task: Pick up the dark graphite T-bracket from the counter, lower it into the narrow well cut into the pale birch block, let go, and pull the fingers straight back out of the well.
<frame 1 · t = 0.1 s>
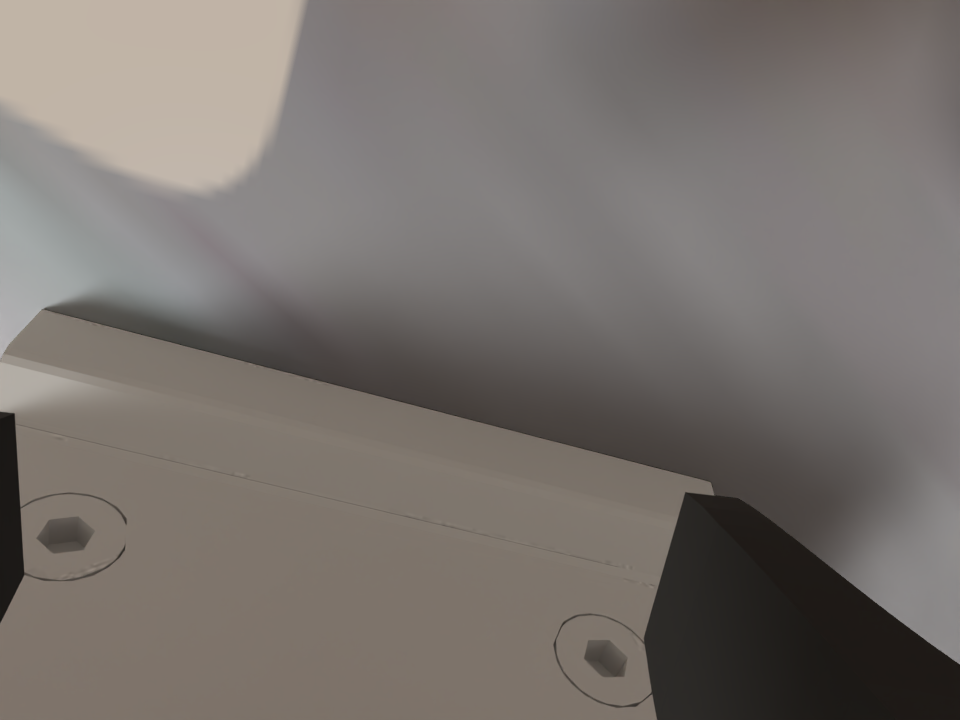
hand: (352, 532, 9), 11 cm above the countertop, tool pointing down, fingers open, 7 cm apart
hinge: (352, 541, 21), on the countertop
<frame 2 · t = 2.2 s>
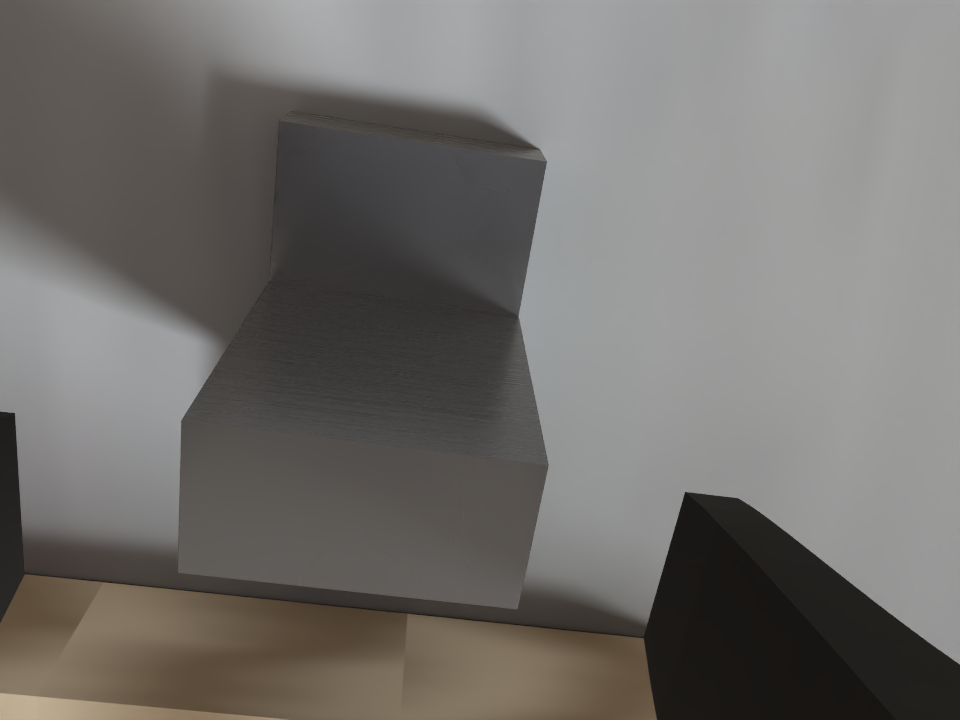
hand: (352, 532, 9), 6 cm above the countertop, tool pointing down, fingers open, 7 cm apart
t bracket: (392, 329, 15), on the countertop
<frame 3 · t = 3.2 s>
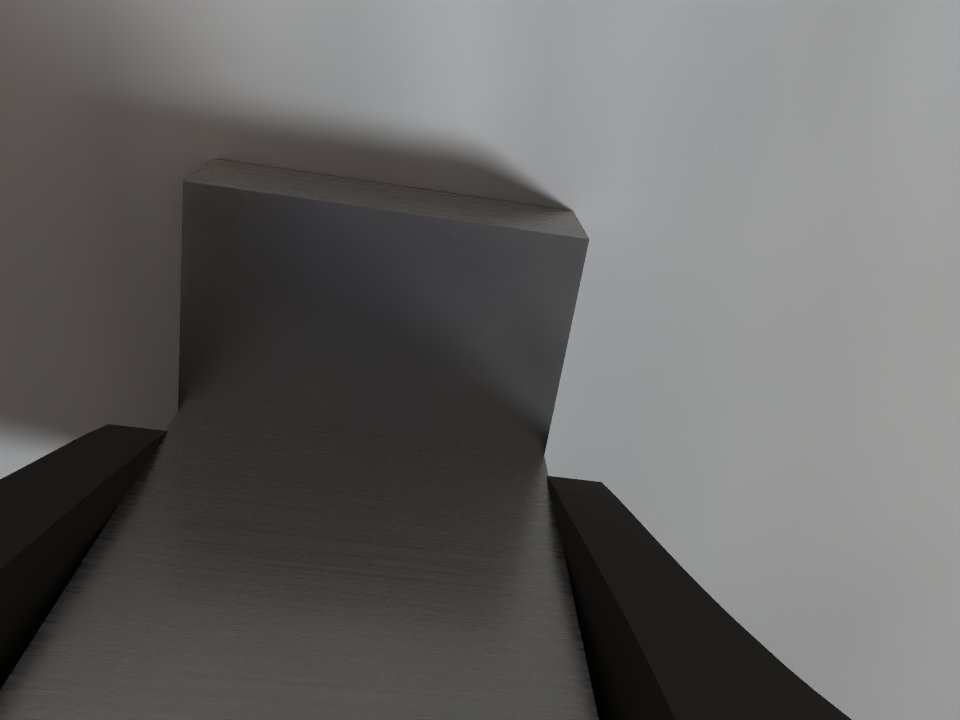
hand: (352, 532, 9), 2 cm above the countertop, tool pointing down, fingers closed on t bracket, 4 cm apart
t bracket: (365, 458, 11), on the countertop, touching gripper
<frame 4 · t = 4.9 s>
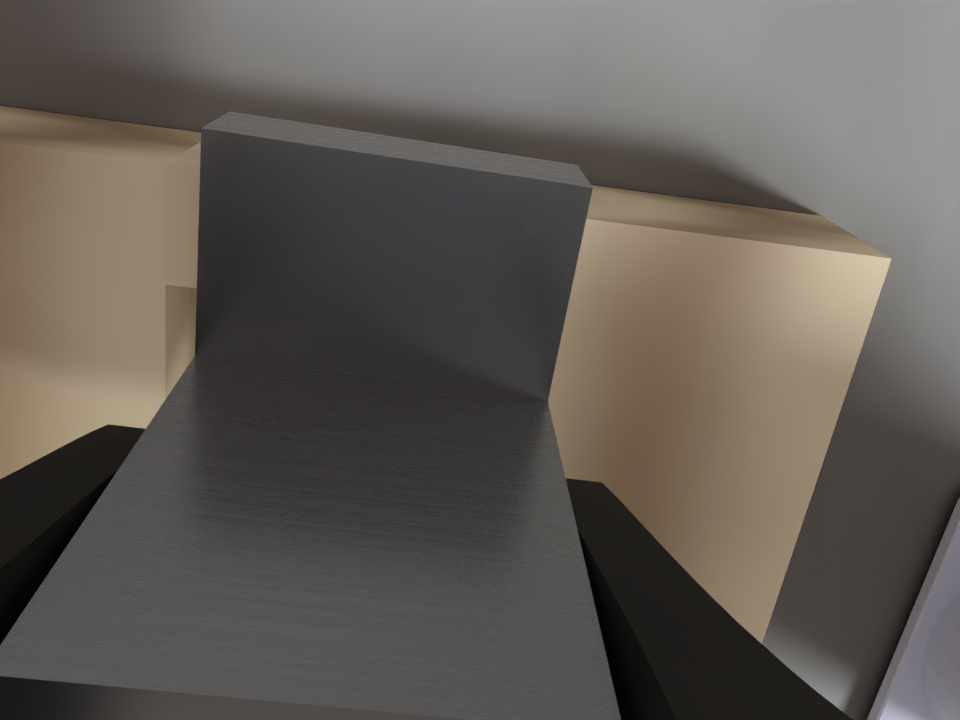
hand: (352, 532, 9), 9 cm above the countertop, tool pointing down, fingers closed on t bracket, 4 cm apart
t bracket: (373, 408, 11), point 7 cm above the countertop, touching gripper
well block: (345, 451, 19), on the countertop
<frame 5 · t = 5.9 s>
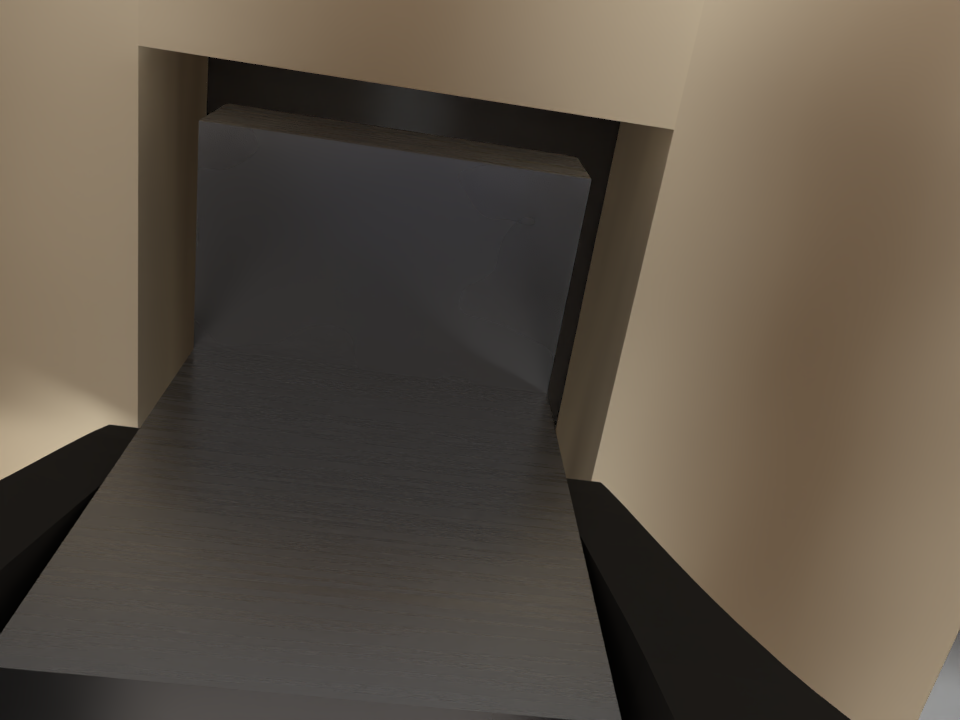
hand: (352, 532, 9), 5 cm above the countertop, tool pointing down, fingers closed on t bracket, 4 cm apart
t bracket: (373, 401, 11), point 3 cm above the countertop, touching gripper
well block: (386, 353, 14), on the countertop
when the fingers open (4 cm above the countertop, at t = 6.6 s): t bracket drops 2 cm, resting in well block.
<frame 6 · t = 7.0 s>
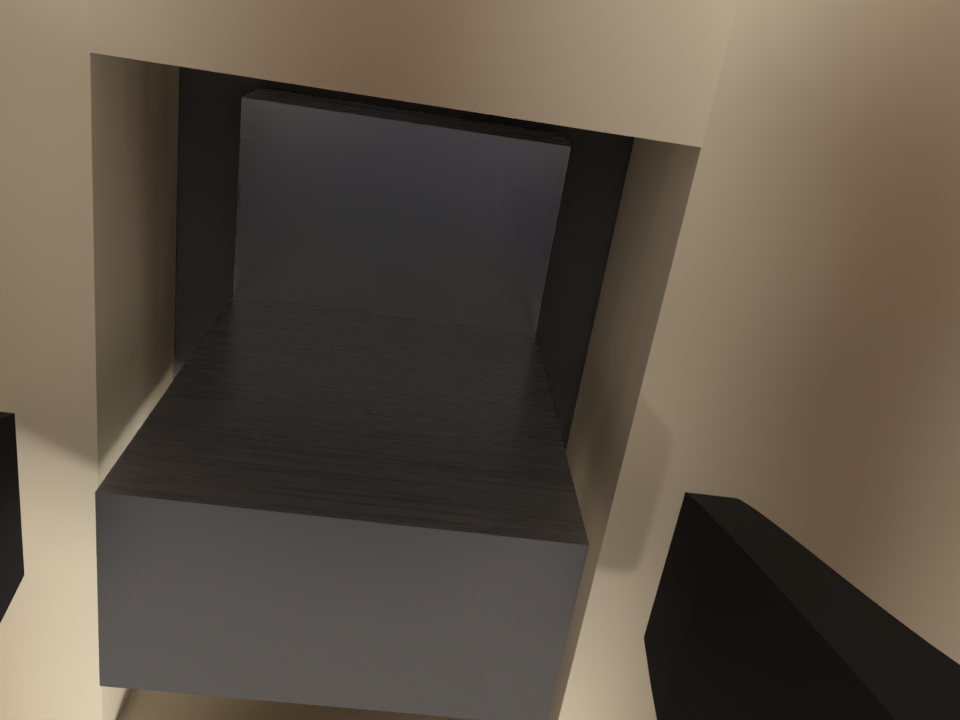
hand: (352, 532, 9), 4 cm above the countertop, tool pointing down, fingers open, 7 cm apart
t bracket: (384, 349, 13), resting in well block
well block: (378, 386, 13), on the countertop
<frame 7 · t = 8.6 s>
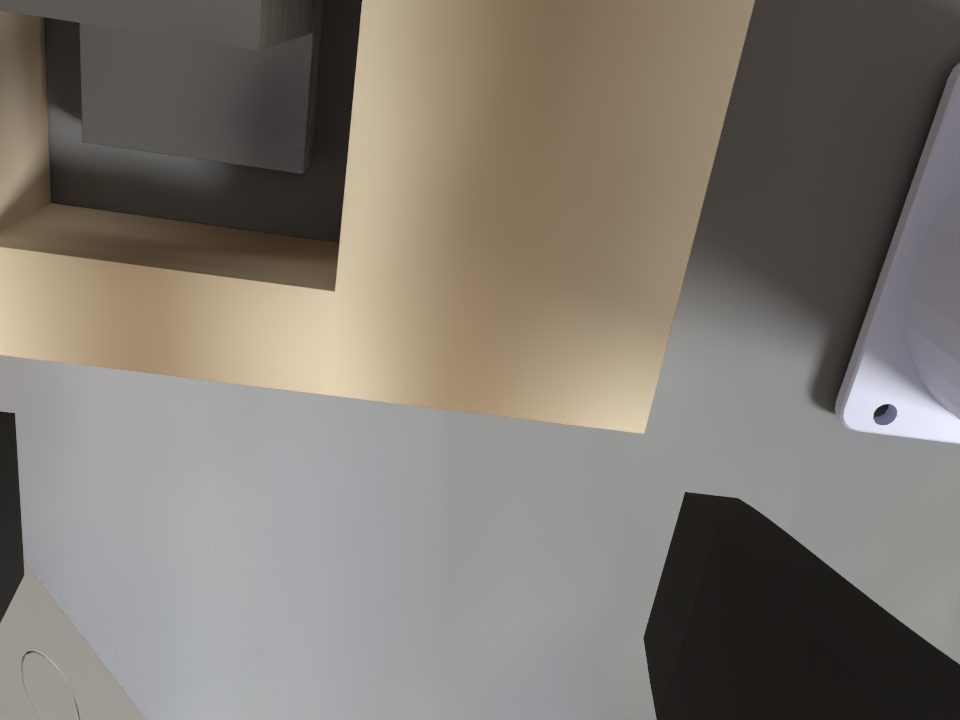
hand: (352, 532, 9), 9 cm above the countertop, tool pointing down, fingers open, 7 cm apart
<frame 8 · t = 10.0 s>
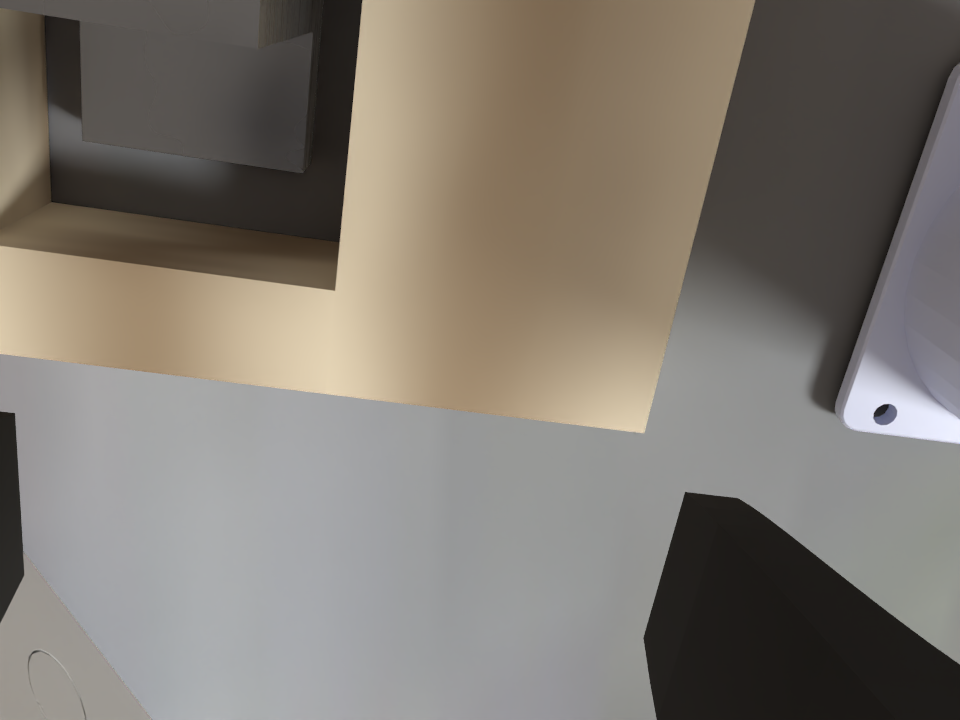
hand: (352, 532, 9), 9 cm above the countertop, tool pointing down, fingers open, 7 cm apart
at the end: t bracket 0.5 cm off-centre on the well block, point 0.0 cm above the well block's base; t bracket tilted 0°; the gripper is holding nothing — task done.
